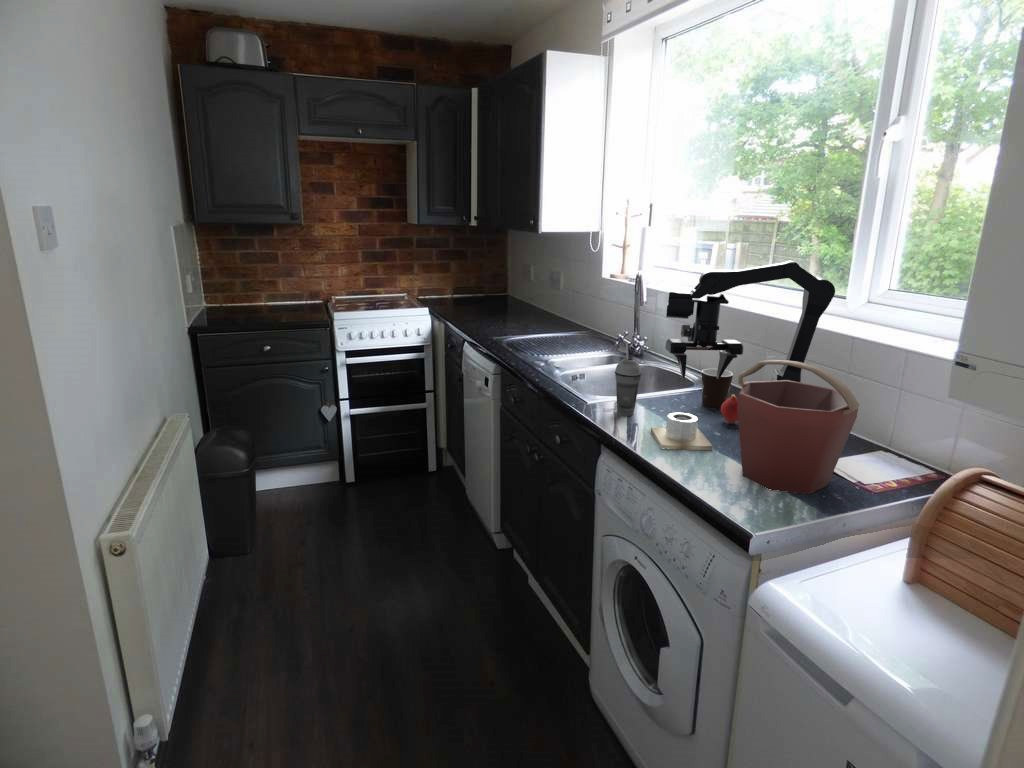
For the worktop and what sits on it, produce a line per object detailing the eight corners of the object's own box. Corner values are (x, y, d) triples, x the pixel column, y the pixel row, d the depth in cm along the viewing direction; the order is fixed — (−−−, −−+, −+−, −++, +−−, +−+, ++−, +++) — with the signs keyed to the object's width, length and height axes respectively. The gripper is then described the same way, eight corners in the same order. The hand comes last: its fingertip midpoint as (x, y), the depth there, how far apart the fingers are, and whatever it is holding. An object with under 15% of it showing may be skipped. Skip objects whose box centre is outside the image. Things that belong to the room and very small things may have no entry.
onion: (741, 421, 168) (745, 392, 166) (743, 428, 163) (746, 399, 160) (718, 418, 170) (722, 390, 167) (719, 425, 164) (723, 396, 162)
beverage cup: (626, 419, 168) (632, 347, 162) (606, 412, 173) (611, 342, 167) (644, 414, 172) (649, 343, 167) (623, 407, 178) (628, 338, 172)
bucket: (705, 462, 141) (717, 355, 134) (778, 448, 149) (793, 347, 142) (791, 510, 119) (811, 385, 112) (870, 490, 128) (893, 373, 121)
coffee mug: (723, 412, 175) (727, 378, 172) (693, 406, 180) (697, 373, 177) (736, 402, 183) (740, 370, 181) (708, 397, 188) (711, 365, 186)
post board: (697, 431, 159) (699, 409, 158) (712, 449, 148) (714, 426, 146) (650, 431, 159) (652, 409, 158) (661, 449, 148) (663, 425, 146)
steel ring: (699, 441, 150) (701, 422, 149) (670, 441, 150) (671, 421, 148) (690, 431, 157) (692, 412, 155) (663, 431, 157) (664, 412, 155)
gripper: (732, 315, 167) (725, 371, 171) (663, 313, 167) (658, 369, 171) (747, 322, 156) (740, 382, 161) (673, 321, 156) (668, 381, 161)
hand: (700, 378), depth 164 cm, fingers open, 9 cm apart
